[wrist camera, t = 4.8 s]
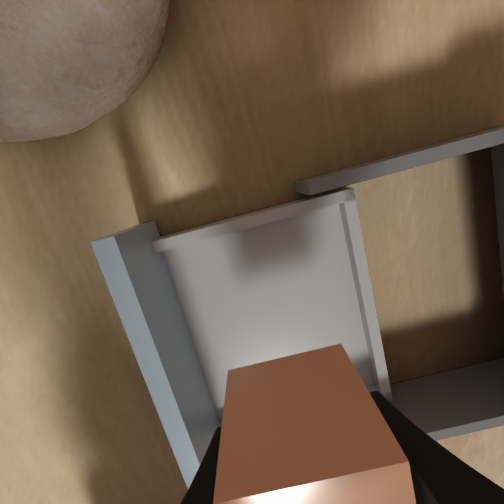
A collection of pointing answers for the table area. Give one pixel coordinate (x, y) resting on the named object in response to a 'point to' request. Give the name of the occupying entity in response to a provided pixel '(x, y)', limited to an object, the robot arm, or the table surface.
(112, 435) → the table surface
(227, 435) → the block
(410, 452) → the robot arm
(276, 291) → the tray
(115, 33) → the stone
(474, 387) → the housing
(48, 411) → the table surface
